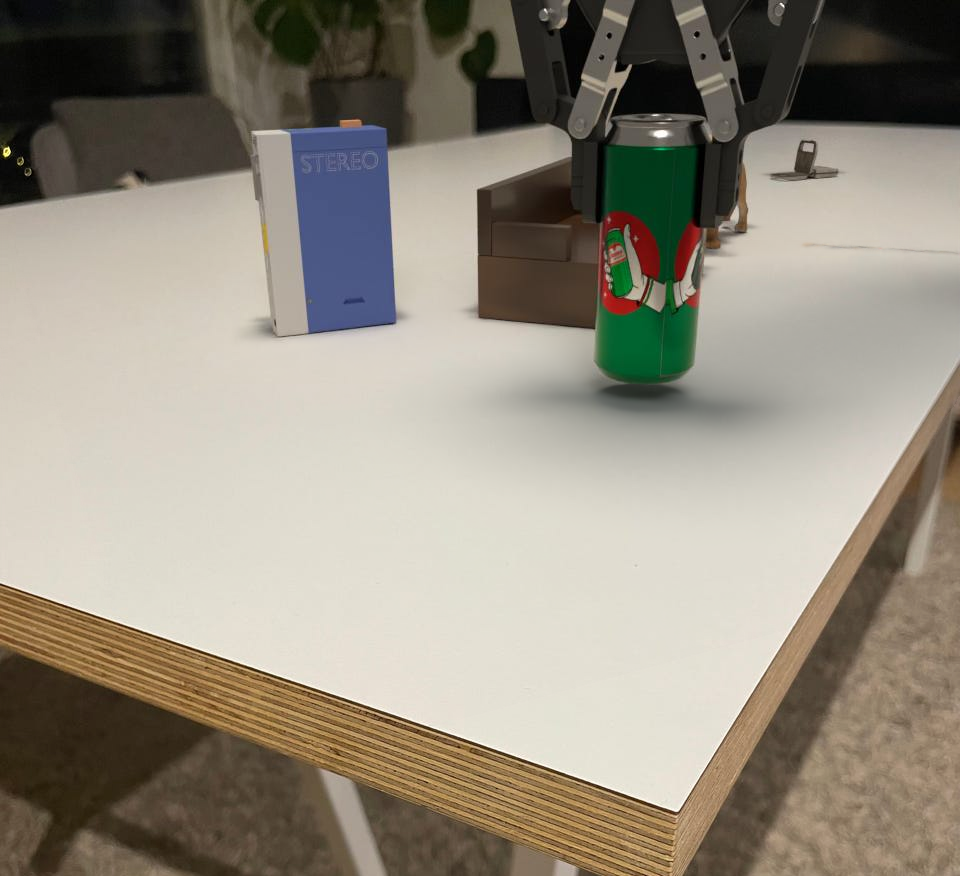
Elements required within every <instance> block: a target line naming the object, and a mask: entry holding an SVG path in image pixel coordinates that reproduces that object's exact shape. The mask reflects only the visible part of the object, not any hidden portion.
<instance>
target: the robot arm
mask: <svg viewBox="0 0 960 876" xmlns="http://www.w3.org/2000/svg"><path fill="white" fill-rule="evenodd" d="M509 1H510V6H511V12H512V17H513V22H514V27H515V33H516V37H517V43H518V48H519V54H520V57H521V58H520V59H521V63H522V69H523V75H524V79H525V83H526V89H527V90H526V91H527V94H528V100H529V105H530V110H531V111H530V112H531V114H532V117H533V119H534V120H535V121H536V122H537V123H538V124H542V125H545V124H549V125H551V126H553V127H555V128H558V129H560V130H562V131H564V132H565V133H566V134H567V135H568V138H569V139H570V142H571V157H572V162H571V176H572V177H571V201H572V204H573V207H574V210H582V221H583V222H584V223H599V205H600V177H601V148H602V142H603V141H604V139H605V137H606V131H607V130H606V128H607V126H608V123H609V120H610V119H611V116H612V113H613V109H614V107H615V104H616V102H617V99H618V96H619V94H620V91H621V89H622V88H623V87H624V85H625V83H626V81H627V79H628V77H629V73H630V72H631V69H632V66H635V65H642V64H648V63H652V62H655V61H660V62H663V63H666V64H669V65H690V69H691V73H692V77H693V80H694V85H695V87H696V89H697V90H698V92H699V94H700V97H701V100H702V103H703V107H704V111H705V115H706V119H707V122H708V125H709V128H710V132H711V136H712V141H710V142H708V143H706V149H705V163H704V176H703V189H702V202H701V215H700V227H701V228H705V229H717V228H718V227H719V228H720V226H722V225H723V222H724V221H723V219H724V216H729V215H730V214H731V213H732V212H733V211H736V208H737V207H738V206H737V203H738V201H739V196H740V185H741V174H742V163H744V150H745V144H746V141H747V139H748V137H749V136H750V135H751V134H752V133H754V132H756V131H759V130H762V129H765V128H768V127H772V126H773V125H775V124H777V123H779V122H781V121H782V120H784V119H785V118H786V117H787V116H788V114H789V113H790V110H791V107H792V104H793V102H794V98H795V95H796V92H797V89H798V86H799V83H800V80H801V76H802V74H803V71H804V68H805V64H806V62H807V58H808V55H809V52H810V50H811V46H812V42H813V39H814V36H815V33H816V31H817V28H818V25H819V21H820V18H821V16H822V12H823V10H824V6H825V3H826V0H767V1H768V6H767V17H768V20H769V22H770V23H771V24H773V25H774V26H777V27H778V30H777V33H776V35H775V39H774V43H773V46H772V49H771V52H770V56H769V59H768V62H767V64H766V68H765V71H764V75H763V78H762V82H761V85H760V88H759V91H758V94H757V98H756V99H754V100H751V101H749V102H746V103H745V101H744V98H743V93H742V89H741V86H740V82H739V70H738V66H737V62H736V59H735V54H734V49H733V46H732V44H731V43H732V42H731V40H730V35H729V34H730V33H731V31H732V30H733V28H734V27H735V25H736V24H737V23H738V21H739V20H740V18H741V17H742V16H743V15H744V14H745V12H746V10H747V9H748V8H749V6H750V5H751V3H752V2H753V0H575V1H576V3H577V5H578V7H579V8H580V10H581V12H582V13H583V15H584V17H585V18H586V20H587V22H588V23H589V25H590V27H591V28H592V30H593V32H594V38H593V41H592V43H591V46H590V49H589V51H588V55H587V58H586V59H585V63H584V66H583V69H582V71H581V76H580V80H581V83H580V87H579V89H578V92H577V95H576V98H575V97H572V94H571V88H570V83H569V77H568V72H567V67H566V66H567V65H566V60H565V55H564V49H563V44H562V37H561V32H560V29H561V28H563V27H564V26H565V25H566V23H567V21H568V17H569V12H568V10H569V9H568V8H569V4H570V2H571V0H509ZM733 213H734V212H733Z"/></svg>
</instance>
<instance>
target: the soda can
mask: <svg viewBox="0 0 960 876" xmlns="http://www.w3.org/2000/svg"><path fill="white" fill-rule="evenodd" d="M609 123H610V124H611V127H610V128H609V130H608V133H607V134H606V135H605V139H604V141H603V142H602V148H601V177H600V205H599V234H598V263H597V291H596V320H595V328H594V348H593V349H594V350H593V351H594V353H593V357H594V358H593V361H594V363H595V365H596V366H597V368H598V369H599V371H600V372H601V374H602V375H604V376H605V377H607V378H609V379H611V380H614V381H617V382H620V383H625V384H630V385H631V384H632V385H650V386H651V385H663V384H668V383H671V382H675V381H679V380H680V379H683V378H684V376H686V374H687V373H689V371H690V370H691V369H692V368H693V367H694V365H695V361H696V350H697V349H696V348H697V335H698V326H699V325H698V324H699V314H700V312H699V311H700V299H701V289H702V288H701V287H702V276H703V274H702V265H703V252H704V240H705V228H701V227H700V215H701V202H702V189H703V176H704V163H705V149H706V143H708V142H710V141H711V140H710V138H709V136H708V135H709V134H708V132H707V129H706V127H705V124H706V123H707V117H705V116H702V115H698V114H686V113H636V114H624V115H617V116H614V117H610V122H609Z"/></svg>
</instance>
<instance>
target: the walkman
mask: <svg viewBox="0 0 960 876" xmlns="http://www.w3.org/2000/svg"><path fill="white" fill-rule="evenodd" d="M250 136H251V142H252V143H251V144H252V145H251V146H252V153H253V154H250V163H251V172H252V180H253V190H254V198H255V201H257V203H258V211H259V219H260V220H259V221H260V229H261V236H262V237H261V238H262V248H263V257H264V265H265V275H266V285H267V294H268V302H269V304H268V305H269V311H270V313H269V314H270V321H271V327H272V331H273V333H274V334H275V335H276V336H277V338H279V337H288V336H297V335H304V334H305V335H306V334H312V333H322V332H329V331H337V330H347V329H353V328H362V327H371V326H378V325H387V324H394V323H395V324H396V323H397V311H396V310H397V309H396V294H395V293H396V292H395V291H396V290H395V273H394V270H395V269H394V253H393V252H394V249H393V233H392V230H393V229H392V214H391V213H392V209H391V193H390V191H391V190H390V173H389V152H388V151H389V149H388V133H387V128H386V127H382V126H377V125H373V124H370V125H369V124H367V125H363V123H362V120H361V119H346V120H345V119H344V120H343V119H342V120H339V126H329V127H309V128H308V127H307V128H306V127H305V128H288V129H287V128H285V129H267V130H266V129H265V130H251V131H250Z"/></svg>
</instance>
